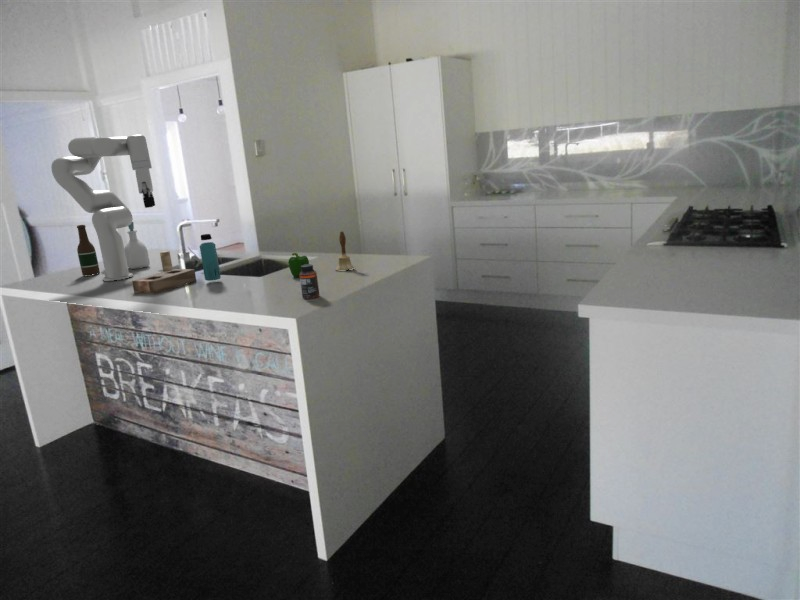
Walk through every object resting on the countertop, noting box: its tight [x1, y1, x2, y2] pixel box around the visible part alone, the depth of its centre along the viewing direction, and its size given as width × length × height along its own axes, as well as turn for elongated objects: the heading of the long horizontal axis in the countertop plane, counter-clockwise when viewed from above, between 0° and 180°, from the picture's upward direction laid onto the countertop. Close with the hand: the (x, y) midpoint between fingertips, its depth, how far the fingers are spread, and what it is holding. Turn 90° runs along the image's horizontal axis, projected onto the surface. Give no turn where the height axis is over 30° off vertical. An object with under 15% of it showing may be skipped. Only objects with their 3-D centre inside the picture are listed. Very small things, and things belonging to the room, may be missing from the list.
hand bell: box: [335, 231, 355, 271], centre depth 250 cm, size 8×8×16 cm
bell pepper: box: [288, 252, 310, 278], centre depth 246 cm, size 8×8×10 cm
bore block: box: [131, 268, 197, 295], centre depth 247 cm, size 12×22×5 cm, turn 156°
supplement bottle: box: [299, 263, 320, 300], centre depth 208 cm, size 6×6×11 cm
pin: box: [159, 250, 174, 272], centre depth 262 cm, size 4×4×12 cm
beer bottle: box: [76, 224, 101, 276], centre depth 288 cm, size 8×8×24 cm
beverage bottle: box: [199, 233, 221, 282], centre depth 246 cm, size 6×7×20 cm
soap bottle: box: [124, 221, 150, 270], centre depth 297 cm, size 10×10×23 cm
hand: (150, 206), depth 256 cm, fingers open, 9 cm apart
